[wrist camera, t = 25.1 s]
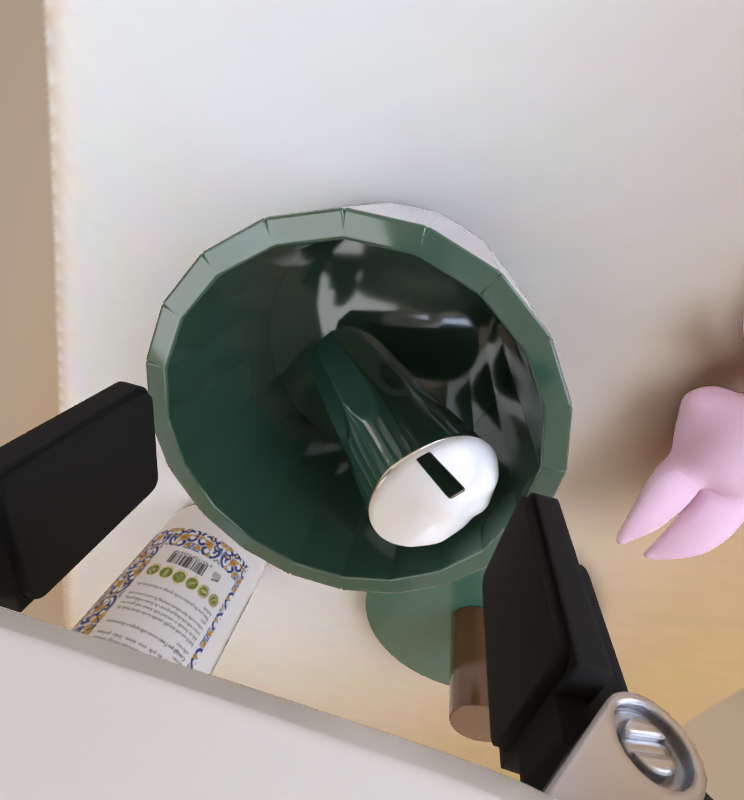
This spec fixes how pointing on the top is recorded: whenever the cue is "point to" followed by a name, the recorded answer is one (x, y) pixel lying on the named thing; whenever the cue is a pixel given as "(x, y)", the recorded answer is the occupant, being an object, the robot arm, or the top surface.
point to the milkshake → (401, 442)
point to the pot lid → (441, 643)
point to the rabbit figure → (695, 479)
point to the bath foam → (178, 594)
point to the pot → (303, 406)
